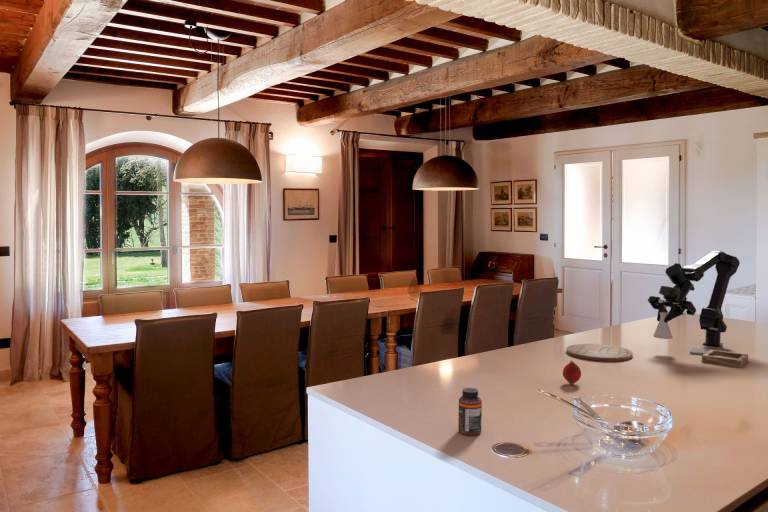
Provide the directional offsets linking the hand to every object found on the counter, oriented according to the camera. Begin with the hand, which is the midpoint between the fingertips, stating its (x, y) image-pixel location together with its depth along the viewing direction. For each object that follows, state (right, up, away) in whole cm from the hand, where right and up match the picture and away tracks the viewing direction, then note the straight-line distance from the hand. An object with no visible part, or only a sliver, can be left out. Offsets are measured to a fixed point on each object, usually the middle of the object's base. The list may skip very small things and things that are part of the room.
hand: (661, 321), depth 250 cm
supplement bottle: (-88, -20, -87) cm, 126 cm away
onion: (-48, -17, -42) cm, 67 cm away
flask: (+1, -7, +1) cm, 7 cm away
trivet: (-25, -14, 0) cm, 28 cm away
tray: (+19, -14, -11) cm, 26 cm away
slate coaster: (+18, -13, +3) cm, 23 cm away
